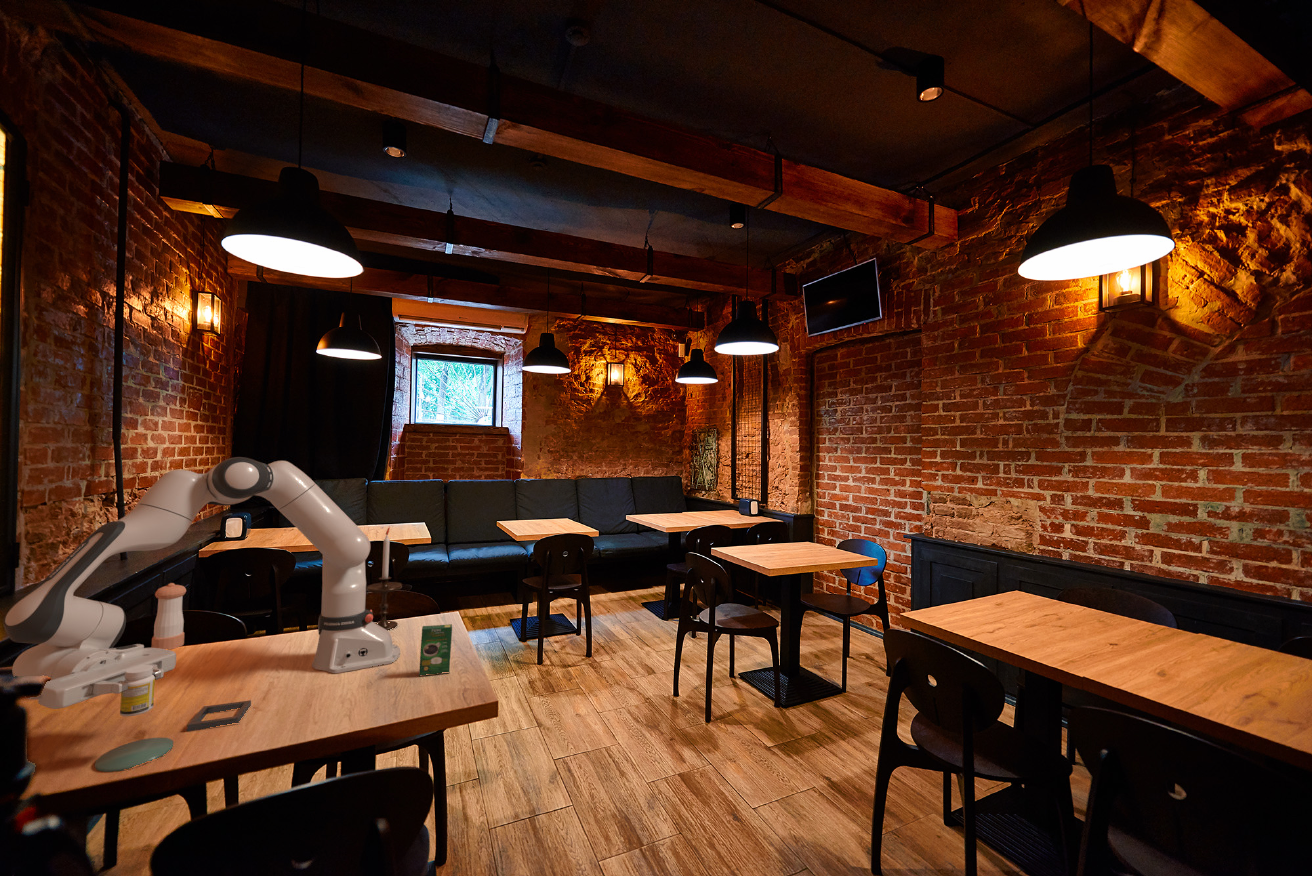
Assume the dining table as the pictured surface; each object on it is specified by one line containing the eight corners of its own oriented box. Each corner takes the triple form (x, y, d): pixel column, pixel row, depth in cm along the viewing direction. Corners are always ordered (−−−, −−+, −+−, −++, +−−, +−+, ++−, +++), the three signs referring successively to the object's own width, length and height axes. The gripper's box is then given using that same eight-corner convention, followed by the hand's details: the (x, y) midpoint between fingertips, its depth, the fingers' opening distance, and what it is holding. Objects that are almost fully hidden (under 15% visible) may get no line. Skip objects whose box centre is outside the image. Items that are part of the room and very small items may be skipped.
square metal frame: (250, 706, 125) (251, 700, 125) (238, 724, 117) (238, 717, 117) (203, 712, 122) (203, 706, 122) (186, 731, 113) (187, 725, 113)
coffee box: (450, 669, 149) (452, 622, 149) (450, 673, 146) (452, 626, 147) (419, 673, 146) (421, 625, 147) (418, 677, 143) (420, 628, 144)
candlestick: (398, 620, 190) (402, 523, 191) (402, 629, 181) (406, 527, 182) (364, 625, 184) (368, 525, 186) (366, 634, 175) (370, 529, 176)
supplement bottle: (134, 705, 107) (137, 663, 107) (159, 705, 107) (162, 663, 107) (112, 717, 102) (115, 673, 102) (138, 717, 102) (141, 673, 103)
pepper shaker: (165, 651, 157) (168, 586, 157) (144, 649, 158) (148, 585, 158) (190, 643, 164) (193, 581, 164) (170, 641, 165) (174, 579, 166)
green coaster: (182, 736, 112) (182, 733, 112) (158, 764, 101) (158, 761, 101) (114, 746, 107) (114, 743, 107) (81, 777, 97) (81, 773, 97)
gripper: (20, 678, 97) (76, 687, 95) (147, 641, 117) (196, 647, 115) (17, 712, 97) (73, 723, 94) (145, 669, 117) (194, 677, 114)
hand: (142, 681), depth 105 cm, fingers closed on supplement bottle, 5 cm apart
